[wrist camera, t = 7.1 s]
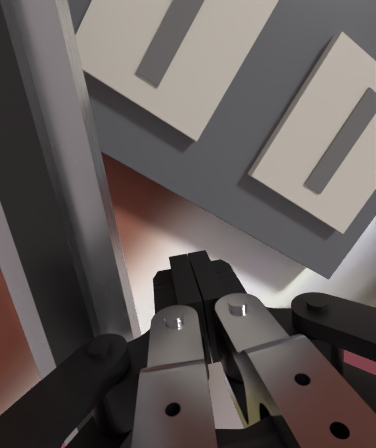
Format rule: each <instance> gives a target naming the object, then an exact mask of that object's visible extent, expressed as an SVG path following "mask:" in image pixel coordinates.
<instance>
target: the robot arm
mask: <svg viewBox="0 0 376 448" xmlns="http://www.w3.org/2000/svg"><path fill="white" fill-rule="evenodd" d="M169 260H170V266H171V269H168V270H163V271H158V272H157V274H156V275H155V277H154V278H153V286H154V303H155V315H154V316H153V318H152V320H151V327H150V329H149V330H148V331H147V332H146V333H145V334H143V335H141V336H140V337H138V338H136V339H133V340H131V341H129V342H126V339H125V338H124V337H123V336H121V335H119V334H113V333H109V334H103V335H99V336H96V337H94V338H92V339H90V340H88V341H87V342H85V343H84V344H83V345H82V346H81V347H79V348H78V349H77V350H76V351H75V352H74V353H72V354H71V355H70V356H69V357H68V358H67V359H65V360H64V361H63V362H62V363H61V364H60V365H58V366H57V367H56V368H55V369H54V370H53V371H51V372H50V373H49V374H48V375H47V376H46V377H44V378H43V379H42V380H41V381H40V382H39V383H37V384H36V385H35V386H34V387H33V388H32V389H31V390H29V391H28V392H27V393H26V394H25V395H24V396H22V397H21V398H20V399H19V400H18V401H17V402H15V403H14V404H13V405H12V406H11V407H10V408H8V409H7V410H6V411H5V412H4V413H3V414H1V415H0V448H61V446H62V444H63V443H64V441H65V440H66V439H67V437H68V436H69V435H70V434H71V433H72V432H73V431H74V430H75V429H76V427H77V426H78V425H79V424H80V423H81V422H82V421H83V420H84V419H85V417H86V416H87V415H88V414H89V413H90V412H92V415H93V416H92V417H91V418H90V419H89V420H88V422H87V423H86V424H85V425H84V426H83V427H82V428H81V429H80V431H79V432H78V433H77V434H76V435H75V436H74V437H73V439H72V440H71V441H70V442H69V443H68V444H67V445H66V447H65V448H376V375H373V374H371V373H368V372H366V371H364V370H361V369H359V368H356V367H354V366H352V365H349V364H347V363H345V362H344V350H347V351H349V352H352V353H354V354H357V355H360V356H362V357H365V358H368V359H370V360H373V361H375V362H376V308H375V307H371V306H367V305H364V304H360V303H357V302H353V301H350V300H346V299H342V298H339V297H335V296H332V295H328V294H324V293H317V292H310V293H304V294H301V295H298V296H296V297H295V298H294V299H293V300H292V303H291V308H268V307H265V306H264V305H263V303H262V302H261V301H260V300H259V299H258V298H257V297H255V296H253V295H250V294H247V292H246V291H245V289H244V287H243V286H242V284H241V283H240V281H239V279H238V278H237V276H236V274H235V273H234V272H233V269H232V268H231V266H230V265H229V264H228V263H226V262H225V261H223V260H221V259H220V260H215V261H211V260H210V258H209V256H208V254H207V252H206V250H203V251H198V252H193V253H188V256H187V254H183V255H177V256H172V257H169ZM210 354H211V356H210ZM211 357H212V360H213V363H215V362H219V361H221V363H222V366H223V371H224V379H225V383H226V386H227V388H228V390H229V393H230V396H231V398H232V400H233V403H234V405H235V408H236V410H237V412H238V415H239V417H240V419H241V422H242V424H243V427H244V429H215V423H214V416H213V410H212V403H211V397H210V390H209V384H208V380H209V370H208V364H211Z"/></svg>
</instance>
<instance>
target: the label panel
mask: <svg viewBox="0 0 376 448" xmlns="http://www.w3.org/2000/svg"><path fill="white" fill-rule="evenodd" d="M67 1H68V5H69V10H70V14H71V19H72V24H73V28H74V33H75V37H76V42H77V46H78V51H79V55H80V60H81V64H82V69H83V73H84V78H85V82H86V87H87V91H88V96H89V100H90V105H91V109H92V114H93V118H94V123H95V127H96V132H97V136H98V141H99V146H100V150H101V152H103V153H105V154H107V155H108V156H110V157H112V158H114V159H116V160H117V161H119V162H121V163H123V164H124V165H126V166H128V167H130V168H132V169H133V170H135V171H137V172H139V173H140V174H142V175H144V176H146V177H147V178H149V179H151V180H153V181H155V182H156V183H158V184H160V185H162V186H163V187H165V188H167V189H169V190H171V191H172V192H174V193H176V194H178V195H179V196H181V197H183V198H185V199H187V200H188V201H190V202H192V203H194V204H195V205H197V206H199V207H201V208H203V209H204V210H206V211H208V212H210V213H211V214H213V215H215V216H217V217H219V218H220V219H222V220H224V221H226V222H227V223H229V224H231V225H233V226H235V227H236V228H238V229H240V230H242V231H243V232H245V233H247V234H249V235H250V236H252V237H254V238H256V239H258V240H259V241H261V242H263V243H265V244H266V245H268V246H270V247H272V248H274V249H275V250H277V251H279V252H281V253H282V254H284V255H286V256H288V257H290V258H291V259H293V260H295V261H297V262H298V263H300V264H302V265H304V266H306V267H307V268H309V269H311V270H313V271H314V272H316V273H318V274H320V275H322V276H323V277H325V278H327V279H330V277H331V276H332V274H333V273H334V272H335V270H336V269H337V268H338V266H339V265H340V264H341V262H342V261H343V259H344V258H345V257H346V255H347V254H348V253H349V251H350V250H351V248H352V247H353V246H354V244H355V243H356V242H357V240H358V239H359V238H360V236H361V235H362V233H363V232H364V231H365V229H366V228H367V227H368V225H369V224H370V222H371V221H372V220H373V218H374V217H375V216H376V0H67Z"/></svg>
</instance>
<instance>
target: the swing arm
mask: <svg viewBox="0 0 376 448" xmlns="http://www.w3.org/2000/svg"><path fill="white" fill-rule="evenodd" d="M0 267H1V270H2V273H3V276H4V278H5V281H6V284H7V287H8V289H9V292H10V295H11V298H12V300H13V303H14V306H15V309H16V311H17V314H18V317H19V320H20V322H21V325H22V328H23V331H24V333H25V336H26V339H27V342H28V344H29V347H30V350H31V353H32V355H33V358H34V361H35V364H36V366H37V369H38V372H39V375H40V377H41V380H42V379H43V378H44V377H46V376H47V375H48V374H49V373H50V372H51V371H53V370H54V369H55V368H56V367H57V366H58V365H60V364H61V363H62V362H63V361H64V360H65V359H67V358H68V357H69V356H70V355H71V354H72V353H74V352H75V351H76V350H77V349H78V348H79V347H81V346H82V345H83V344H84V343H85V342H87V341H88V340H90V339H92V338H94V337H96V336H99V335H103V334H109V333H113V334H119V335H121V336H123V337H124V338H125V339H126V342H129V341H131V340H133V339H136V338H138V337H140V336H141V331H140V326H139V322H138V317H137V313H136V308H135V304H134V299H133V295H132V290H131V286H130V281H129V277H128V272H127V268H126V263H125V258H124V254H123V249H122V245H121V240H120V236H119V231H118V227H117V222H116V218H115V213H114V209H113V204H112V200H111V195H110V191H109V186H108V182H107V177H106V173H105V168H104V164H103V159H102V155H101V150H100V146H99V141H98V136H97V132H96V127H95V123H94V118H93V114H92V109H91V105H90V100H89V96H88V91H87V87H86V82H85V78H84V73H83V69H82V64H81V60H80V55H79V51H78V46H77V42H76V37H75V33H74V28H73V24H72V19H71V14H70V10H69V5H68V1H67V0H0ZM92 416H93V415H92V412H90V413H89V414H88V415H87V416H86V417H85V419H84V420H83V421H82V422H81V423H80V424H79V425H78V426H77V427H76V429H75V430H74V431H73V432H72V433H71V434H70V435H69V436H68V437H67V439H66V440H65V441H64V443H65V446H66V445H67V444H68V443H69V442H70V441H71V440H72V439H73V437H74V436H75V435H76V434H77V433H78V432H79V431H80V429H81V428H82V427H83V426H84V425H85V424H86V423H87V422H88V420H89V419H90V418H91V417H92Z"/></svg>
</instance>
